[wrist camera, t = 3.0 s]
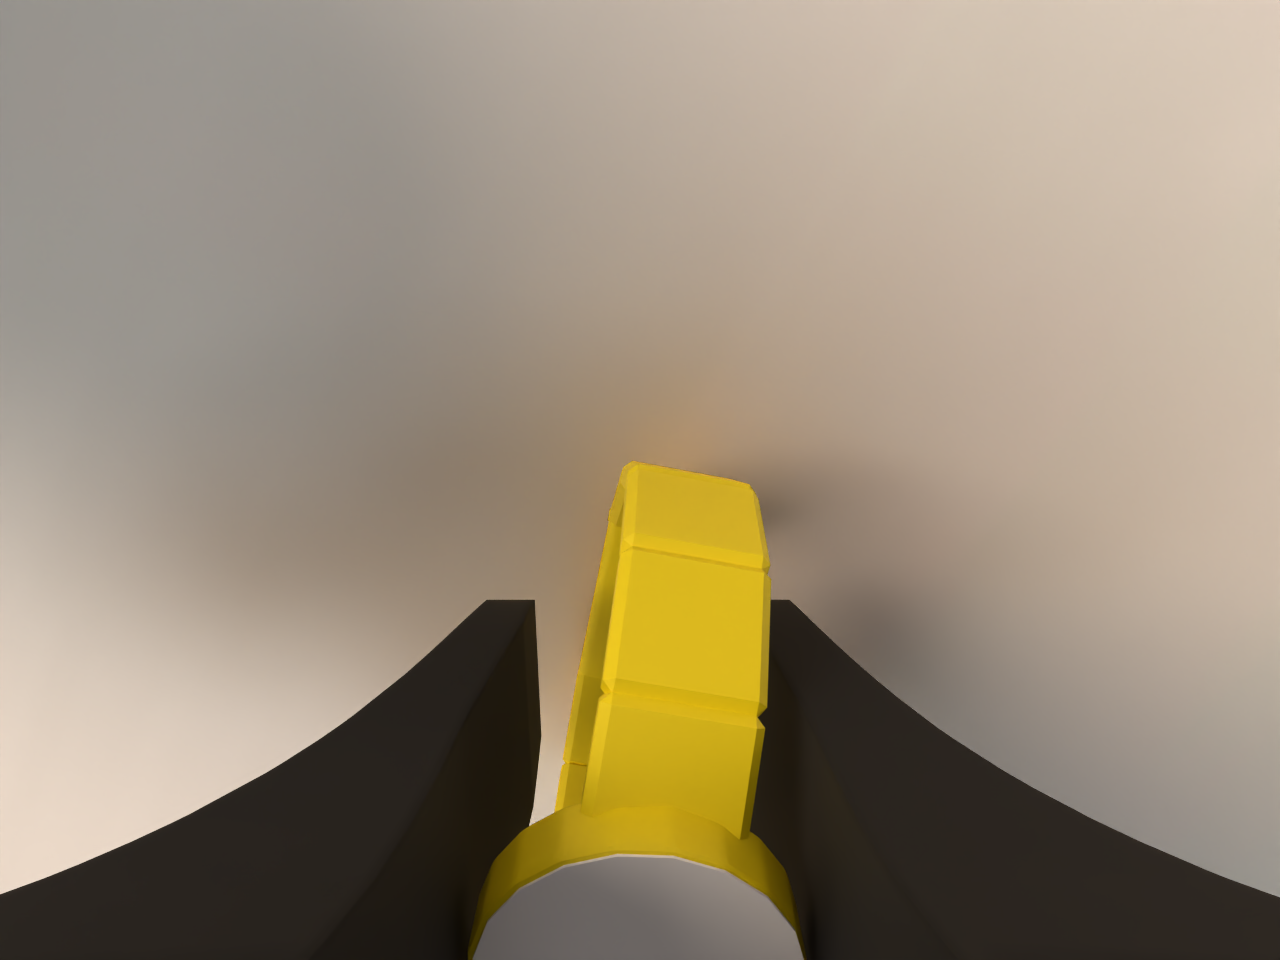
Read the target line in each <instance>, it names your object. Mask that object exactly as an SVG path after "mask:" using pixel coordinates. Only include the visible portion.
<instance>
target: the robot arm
mask: <svg viewBox="0 0 1280 960" xmlns="http://www.w3.org/2000/svg"><path fill="white" fill-rule="evenodd" d="M758 719H759V720H760V722H761V723H762V724H763V726H764V727H765V733H764V740H763V747H762V753H761V760H760V766H759V773H758V780H757V786H756V793H755V799H754V806H753V813H752V819H751V826H750V832H752V833H753V834H755V835H756V836H757V837H759V838H760V839H761V840H762V841H763V843H764V844H765V845H766V846H767V848H768V849H769V850H770V851H771V853H772V854H773V855H774V856H775V858H776V859H777V860H778V861H779V862H780V864H781V865H782V866H783V868H784V869H785V871H786V874H787V876H788V879H789V882H790V886H791V889H792V892H793V896H794V899H795V903H796V907H797V912H798V917H799V922H800V928H801V933H802V938H803V943H804V948H805V954H806V960H1280V897H1277V896H1274V895H1271V894H1268V893H1266V892H1263V891H1260V890H1257V889H1255V888H1252V887H1249V886H1246V885H1243V884H1241V883H1238V882H1235V881H1232V880H1230V879H1227V878H1224V877H1222V876H1219V875H1217V874H1214V873H1212V872H1209V871H1207V870H1205V869H1202V868H1200V867H1198V866H1195V865H1193V864H1191V863H1188V862H1186V861H1184V860H1181V859H1179V858H1177V857H1174V856H1172V855H1170V854H1167V853H1165V852H1163V851H1160V850H1158V849H1156V848H1153V847H1151V846H1149V845H1147V844H1144V843H1142V842H1140V841H1137V840H1135V839H1133V838H1131V837H1129V836H1127V835H1125V834H1123V833H1120V832H1118V831H1116V830H1114V829H1112V828H1110V827H1108V826H1106V825H1103V824H1101V823H1099V822H1097V821H1095V820H1093V819H1091V818H1089V817H1087V816H1085V815H1083V814H1082V813H1080V812H1078V811H1076V810H1074V809H1072V808H1070V807H1068V806H1066V805H1064V804H1063V803H1061V802H1059V801H1057V800H1055V799H1053V798H1051V797H1049V796H1047V795H1045V794H1044V793H1042V792H1040V791H1038V790H1036V789H1034V788H1032V787H1031V786H1029V785H1027V784H1025V783H1024V782H1022V781H1020V780H1018V779H1017V778H1015V777H1013V776H1011V775H1010V774H1008V773H1006V772H1005V771H1003V770H1001V769H1000V768H998V767H997V766H995V765H993V764H992V763H990V762H989V761H987V760H986V759H984V758H982V757H981V756H979V755H978V754H976V753H975V752H973V751H971V750H970V749H968V748H967V747H965V746H964V745H962V744H960V743H959V742H957V741H956V740H954V739H953V738H951V737H950V736H949V735H947V734H946V733H944V732H943V731H941V730H940V729H938V728H937V727H936V726H934V725H933V724H931V723H930V722H929V721H927V720H926V719H925V718H924V717H922V716H921V715H920V714H918V713H917V712H916V711H914V710H913V709H912V708H910V707H909V706H908V705H907V704H905V703H904V702H903V701H901V700H900V699H899V698H897V697H896V696H895V695H894V694H892V693H891V692H890V691H889V690H888V689H886V688H885V687H884V686H883V685H881V684H880V683H879V682H878V681H877V680H875V679H874V678H873V677H872V676H871V675H870V674H868V673H867V672H866V671H865V670H864V669H863V668H862V667H860V666H859V665H858V664H857V663H856V662H855V661H854V660H853V659H851V658H850V657H849V656H848V655H847V654H846V653H845V652H844V651H843V650H842V649H841V648H839V647H838V646H837V645H836V644H835V643H834V642H833V641H832V640H831V639H830V638H829V637H828V636H827V635H826V634H825V633H824V632H822V631H821V630H820V629H819V628H818V627H817V626H816V625H815V624H814V623H813V622H812V621H811V620H810V619H809V618H808V617H807V616H806V615H805V614H804V613H803V612H802V611H801V610H800V609H799V608H798V607H796V606H795V605H794V604H793V603H792V602H791V601H790V600H770V632H769V665H768V697H767V708H766V709H765V711H764V712H763V713H762V714H761V715H760V716H759V717H758ZM540 743H541V721H540V700H539V679H538V659H537V638H536V617H535V600H486V601H485V602H484V603H483V604H481V605H480V606H479V607H478V608H477V609H476V610H475V611H474V612H473V613H472V614H470V615H469V616H468V617H467V618H466V619H465V620H464V621H463V622H462V623H461V624H460V625H459V626H458V627H457V628H455V629H454V630H453V631H452V632H451V633H450V634H449V635H448V636H447V637H446V638H445V639H444V640H443V641H442V642H441V643H439V644H438V645H437V646H436V647H435V648H434V649H433V650H432V651H431V652H430V653H429V654H427V655H426V656H425V657H424V658H423V659H422V660H421V661H420V662H418V663H417V664H416V665H415V666H414V667H413V668H412V669H411V670H409V671H408V672H407V673H406V674H405V675H404V676H402V677H401V678H400V679H399V680H397V681H396V682H395V683H394V684H392V685H391V686H390V687H389V688H387V689H386V690H385V691H384V692H382V693H381V694H380V695H379V696H377V697H376V698H375V699H373V700H372V701H371V702H370V703H368V704H367V705H366V706H365V707H363V708H362V709H361V710H360V711H358V712H357V713H356V714H355V715H353V716H352V717H351V718H349V719H348V720H347V721H345V722H344V723H342V724H341V725H340V726H338V727H337V728H335V729H334V730H332V731H331V732H330V733H328V734H327V735H325V736H324V737H322V738H321V739H319V740H318V741H316V742H315V743H313V744H312V745H310V746H309V747H307V748H305V749H304V750H302V751H301V752H299V753H298V754H296V755H294V756H293V757H291V758H290V759H288V760H287V761H285V762H283V763H282V764H280V765H279V766H277V767H275V768H274V769H272V770H270V771H269V772H267V773H265V774H263V775H261V776H260V777H258V778H256V779H254V780H252V781H250V782H249V783H247V784H245V785H243V786H241V787H239V788H237V789H236V790H234V791H232V792H230V793H228V794H226V795H224V796H223V797H221V798H219V799H217V800H215V801H213V802H211V803H210V804H208V805H206V806H204V807H202V808H200V809H199V810H197V811H195V812H193V813H191V814H189V815H187V816H185V817H183V818H181V819H179V820H177V821H175V822H173V823H171V824H169V825H167V826H164V827H162V828H160V829H158V830H156V831H154V832H152V833H149V834H147V835H145V836H143V837H141V838H139V839H137V840H134V841H132V842H130V843H128V844H125V845H123V846H121V847H118V848H116V849H114V850H111V851H109V852H107V853H105V854H102V855H100V856H98V857H95V858H93V859H91V860H88V861H86V862H84V863H81V864H79V865H76V866H74V867H72V868H69V869H67V870H64V871H62V872H59V873H57V874H54V875H52V876H49V877H47V878H44V879H41V880H39V881H36V882H33V883H30V884H28V885H25V886H22V887H19V888H17V889H14V890H11V891H9V892H6V893H3V894H0V960H468V946H469V941H470V937H471V932H472V927H473V923H474V918H475V913H476V909H477V904H478V899H479V895H480V893H481V890H482V888H483V885H484V883H485V880H486V878H487V875H488V873H489V870H490V868H491V866H492V863H493V862H494V860H495V859H496V857H497V856H498V855H499V854H500V853H501V852H502V851H503V850H504V849H505V848H506V847H507V846H508V845H509V844H510V843H511V842H512V841H513V840H514V839H515V838H516V836H517V835H518V834H519V833H520V832H522V831H523V830H524V829H526V828H527V827H529V823H530V819H531V814H532V810H533V804H534V796H535V788H536V779H537V771H538V761H539V752H540Z"/></svg>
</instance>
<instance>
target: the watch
mask: <svg viewBox="0 0 1280 960" xmlns="http://www.w3.org/2000/svg"><path fill="white" fill-rule="evenodd" d="M608 521H609V523H608V528H607V533H606V538H605V543H604V548H603V553H602V557H601V562H600V567H599V572H598V577H597V582H596V587H595V592H594V597H593V602H592V606H591V611H590V616H589V621H588V626H587V631H586V636H585V641H584V646H583V651H582V655H581V660H580V665H579V670H578V674H577V679H576V685H575V691H574V697H573V703H572V708H571V714H570V720H569V726H568V732H567V737H566V743H565V749H564V755H563V760H564V762H565V764H564V765H562V768H561V773H560V779H559V786H558V792H557V799H556V805H555V812H554V813H553V814H551V815H549V816H547V817H546V818H544V819H542V820H540V821H538V822H536V823H534V824H532V825H531V826H529V827H527V828H526V829H524V830H523V831H522V832H520V833H519V834H518V835H517V836H516V838H515V839H514V840H513V841H512V842H511V843H510V844H509V845H508V846H507V847H506V848H505V849H504V850H503V851H502V852H501V853H500V854H499V855H498V856H497V857H496V859H495V860H494V862H493V863H492V866H491V868H490V870H489V873H488V875H487V878H486V880H485V883H484V885H483V888H482V890H481V893H480V895H479V899H478V904H477V909H476V913H475V918H474V923H473V927H472V932H471V937H470V941H469V946H468V960H806V954H805V948H804V943H803V938H802V933H801V928H800V922H799V917H798V912H797V907H796V903H795V899H794V896H793V892H792V889H791V886H790V882H789V879H788V876H787V874H786V871H785V869H784V868H783V866H782V865H781V864H780V862H779V861H778V860H777V859H776V858H775V856H774V855H773V854H772V853H771V851H770V850H769V849H768V848H767V846H766V845H765V844H764V843H763V841H762V840H761V839H760V838H759V837H757V836H756V835H755V834H753V833H752V832H750V826H751V819H752V813H753V806H754V799H755V793H756V786H757V780H758V773H759V766H760V760H761V753H762V747H763V740H764V733H765V727H764V726H763V724H762V723H761V722H760V720H759V719H758V717H759V716H760V715H761V714H762V713H763V712H764V711H765V709H766V708H767V697H768V665H769V632H770V599H771V579H770V577H769V576H768V575H767V574H768V571H769V568H770V560H769V555H768V549H767V544H766V538H765V533H764V527H763V521H762V516H761V510H760V505H759V499H758V498H757V496H756V493H755V492H754V490H753V489H752V488H751V486H750V485H749V484H746V483H743V482H740V481H736V480H733V479H728V478H723V477H717V476H712V475H707V474H701V473H696V472H690V471H685V470H679V469H674V468H669V467H663V466H658V465H652V464H647V463H642V462H636V461H631V462H630V463H628V464H627V465H626V466H624V467H623V470H622V472H621V475H620V479H619V482H618V486H617V489H616V493H615V496H614V500H613V503H612V507H611V509H610V510H609V515H608Z"/></svg>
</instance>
